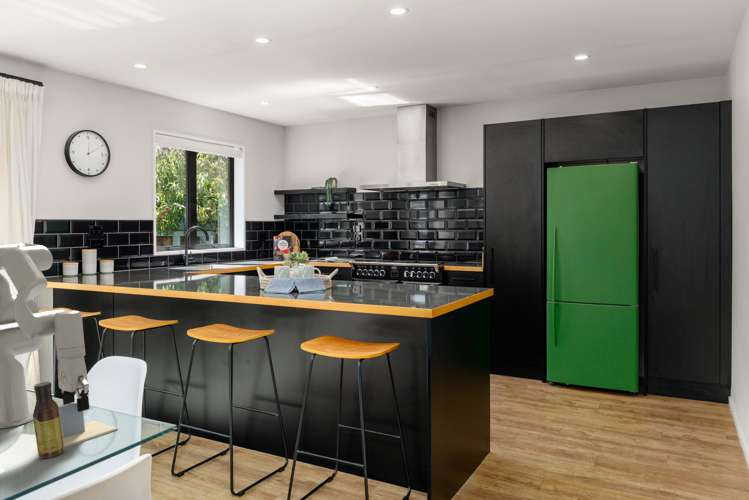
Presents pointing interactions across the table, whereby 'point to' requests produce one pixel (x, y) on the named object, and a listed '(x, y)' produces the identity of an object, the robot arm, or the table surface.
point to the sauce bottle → (47, 422)
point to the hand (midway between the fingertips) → (76, 407)
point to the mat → (88, 433)
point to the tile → (71, 419)
